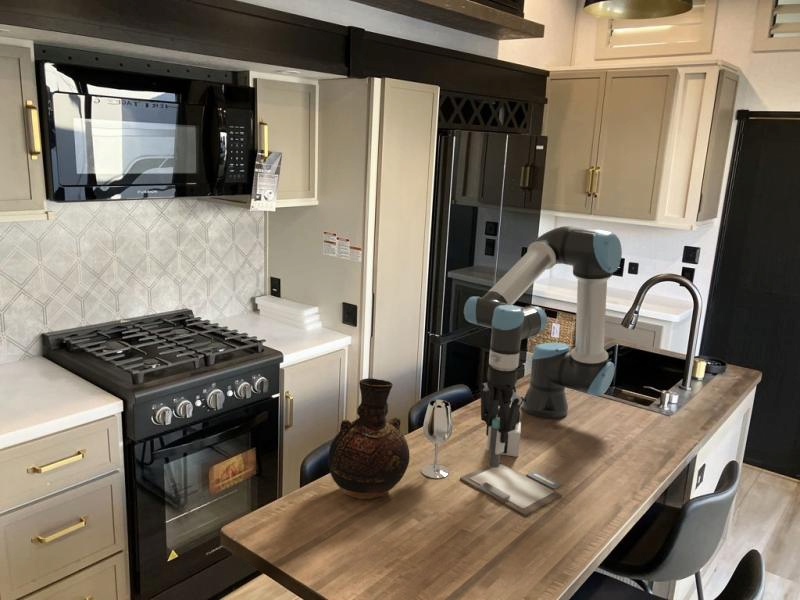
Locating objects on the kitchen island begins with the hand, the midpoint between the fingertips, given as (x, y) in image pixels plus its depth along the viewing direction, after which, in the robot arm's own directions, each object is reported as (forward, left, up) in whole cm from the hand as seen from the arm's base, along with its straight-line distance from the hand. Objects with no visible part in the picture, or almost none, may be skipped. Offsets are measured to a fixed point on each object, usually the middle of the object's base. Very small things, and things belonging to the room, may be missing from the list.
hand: (495, 450), depth 170 cm
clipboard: (-1, +5, -9) cm, 11 cm away
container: (-17, -10, -9) cm, 22 cm away
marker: (0, 0, -4) cm, 4 cm away
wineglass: (+9, -13, -9) cm, 18 cm away
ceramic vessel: (+30, -16, -9) cm, 35 cm away
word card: (-12, +8, -9) cm, 17 cm away
